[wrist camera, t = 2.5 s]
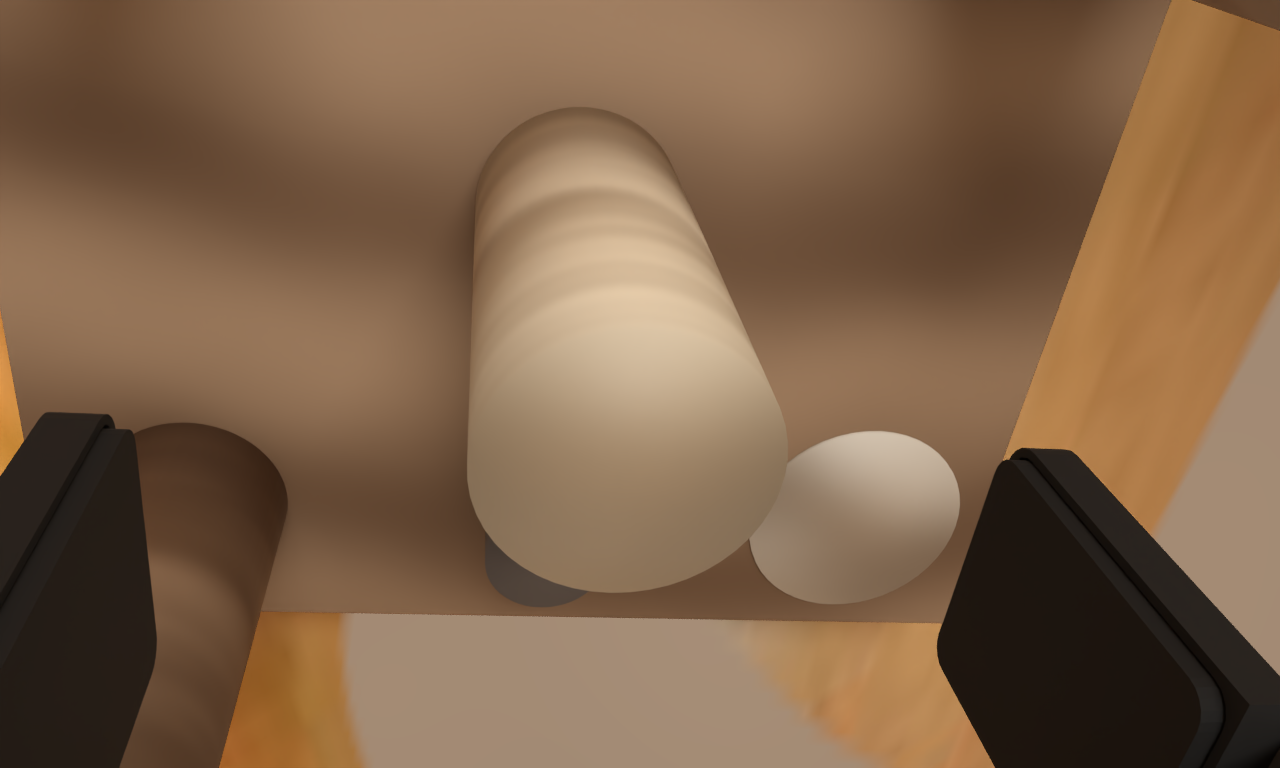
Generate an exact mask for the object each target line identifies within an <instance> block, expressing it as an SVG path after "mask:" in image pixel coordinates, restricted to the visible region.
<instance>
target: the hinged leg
mask: <svg viewBox="0 0 1280 768" xmlns="http://www.w3.org/2000/svg"><path fill="white" fill-rule="evenodd" d="M787 461H788V439H787V432H786V425H785V422H784V419H783V416H782V412H781V409H780V407H779V404H778V402H777V400H776V398H775V395H774V393H773V391H772V389H771V386H770V384H769V382H768V380H767V377H766V375H765V373H764V371H763V368H762V366H761V364H760V362H759V359H758V357H757V355H756V353H755V350H754V348H753V346H752V344H751V342H750V339H749V337H748V335H747V333H746V330H745V328H744V326H743V324H742V321H741V319H740V317H739V315H738V312H737V310H736V308H735V306H734V303H733V301H732V299H731V297H730V294H729V292H728V290H727V288H726V285H725V283H724V281H723V279H722V276H721V274H720V272H719V270H718V267H717V265H716V263H715V261H714V258H713V256H712V254H711V252H710V249H709V247H708V245H707V243H706V240H705V238H704V236H703V234H702V231H701V229H700V227H699V225H698V222H697V220H696V218H695V216H694V213H693V211H692V209H691V207H690V204H689V202H688V200H687V198H686V195H685V193H684V191H683V189H682V186H681V184H680V182H679V180H678V177H677V175H676V173H675V171H674V168H673V166H672V164H671V162H670V160H669V158H668V156H667V155H666V153H665V152H664V150H663V149H662V147H661V146H660V144H659V143H658V142H657V141H656V140H655V139H654V138H653V137H652V136H651V135H650V134H649V133H648V132H647V131H646V130H644V129H643V128H642V127H641V126H639V125H638V124H636V123H634V122H633V121H631V120H630V119H628V118H625V117H623V116H621V115H619V114H616V113H613V112H610V111H607V110H603V109H597V108H591V107H569V108H561V109H556V110H552V111H548V112H545V113H543V114H540V115H537V116H535V117H533V118H531V119H529V120H527V121H525V122H523V123H522V124H520V125H519V126H518V127H516V128H515V129H513V130H512V131H511V132H510V133H509V134H508V135H507V136H506V137H504V138H503V139H502V140H501V142H500V143H499V144H498V145H497V146H496V148H495V149H494V150H493V152H492V153H491V155H490V156H489V158H488V160H487V161H486V163H485V166H484V168H483V170H482V173H481V175H480V179H479V183H478V186H477V193H476V203H475V234H474V265H473V296H472V326H471V357H470V388H469V419H468V450H467V482H468V487H469V493H470V498H471V501H472V504H473V507H474V509H475V512H476V515H477V517H478V519H479V520H480V522H481V524H482V526H483V528H484V530H485V569H486V573H487V576H488V579H489V581H490V582H491V584H492V585H493V587H494V588H495V589H496V590H497V591H498V592H499V593H500V594H502V595H503V596H504V597H506V598H507V599H509V600H511V601H513V602H516V603H518V604H522V605H525V606H531V607H553V606H559V605H563V604H566V603H569V602H572V601H574V600H576V599H578V598H580V597H581V596H583V595H584V594H586V593H587V592H588V591H592V592H606V593H624V592H636V591H644V590H651V589H655V588H659V587H664V586H668V585H671V584H674V583H677V582H680V581H683V580H686V579H688V578H691V577H693V576H695V575H697V574H699V573H702V572H704V571H706V570H707V569H709V568H711V567H713V566H714V565H716V564H718V563H719V562H721V561H722V560H724V559H725V558H727V557H728V556H729V555H731V554H732V553H733V552H735V551H736V550H737V549H738V548H739V547H740V546H741V545H743V544H744V543H745V542H746V541H747V540H748V539H749V538H750V537H751V536H752V535H753V534H754V532H755V531H756V530H757V529H758V528H759V527H760V525H761V524H762V523H763V521H764V520H765V518H766V517H767V515H768V514H769V512H770V511H771V509H772V507H773V505H774V503H775V501H776V499H777V497H778V495H779V493H780V490H781V487H782V484H783V481H784V477H785V473H786V467H787Z"/></svg>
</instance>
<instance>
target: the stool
mask: <svg viewBox="0 0 1280 768" xmlns="http://www.w3.org/2000/svg"><path fill="white" fill-rule="evenodd" d="M1193 1H1196V2H1199V3H1202V4H1205V5H1208V6H1211V7H1213V8H1216V9H1219V10H1222V11H1225V12H1228V13H1231V14H1234V15H1236V16H1239V17H1242V18H1245V19H1248V20H1251V21H1254V22H1256V23H1259V24H1262V25H1265V26H1268V27H1271V28H1274V29H1277V30H1279V31H1280V0H1193ZM1170 2H1171V0H0V310H1V316H2V321H3V327H4V332H5V338H6V343H7V349H8V354H9V360H10V365H11V371H12V376H13V382H14V387H15V393H16V398H17V404H18V409H19V415H20V420H21V426H22V431H23V437H24V441H25V439H26V438H27V436H28V435H29V433H30V432H31V430H32V429H33V427H34V426H35V424H36V423H37V421H38V420H39V418H40V417H41V416H42V415H43V414H44V413H46V412H66V413H93V414H109V415H110V416H111V417H112V419H113V421H114V423H115V428H116V429H130V430H131V431H132V432H133V434H134V436H135V442H136V449H137V458H138V467H139V477H140V486H141V495H142V504H143V513H144V522H145V531H146V540H147V550H148V559H149V568H150V577H151V586H152V595H153V604H154V613H155V623H156V632H157V651H156V659H155V664H154V669H153V672H152V676H151V679H150V681H149V684H148V687H147V690H146V693H145V696H144V698H143V701H142V704H141V707H140V710H139V713H138V716H137V718H136V721H135V724H134V727H133V730H132V733H131V736H130V738H129V741H128V744H127V747H126V750H125V753H124V755H123V758H122V761H121V764H120V767H119V768H219V765H220V761H221V758H222V754H223V750H224V746H225V743H226V739H227V735H228V731H229V728H230V724H231V720H232V717H233V713H234V709H235V705H236V702H237V698H238V694H239V690H240V687H241V683H242V679H243V675H244V672H245V668H246V664H247V661H248V657H249V653H250V649H251V646H252V642H253V638H254V634H255V631H256V627H257V623H258V619H259V616H260V612H261V611H268V612H325V613H384V614H440V615H445V614H446V615H496V616H556V617H558V616H559V617H612V618H668V619H669V618H670V619H725V620H782V621H839V622H896V623H943V621H944V618H945V615H946V612H947V609H948V606H949V603H950V600H951V598H952V595H953V592H954V589H955V586H956V583H957V580H958V577H959V574H960V572H961V569H962V566H963V563H964V560H965V557H966V554H967V551H968V548H969V546H970V543H971V540H972V537H973V534H974V531H975V528H976V525H977V522H978V520H979V517H980V514H981V511H982V508H983V505H984V502H985V499H986V497H987V494H988V491H989V488H990V485H991V482H992V479H993V476H994V473H995V471H996V469H997V467H998V465H999V464H1000V463H1001V462H1002V460H1003V458H1004V455H1005V452H1006V449H1007V447H1008V444H1009V441H1010V438H1011V436H1012V433H1013V430H1014V428H1015V425H1016V422H1017V419H1018V417H1019V414H1020V411H1021V409H1022V406H1023V403H1024V400H1025V398H1026V395H1027V392H1028V389H1029V387H1030V384H1031V381H1032V379H1033V376H1034V373H1035V370H1036V368H1037V365H1038V362H1039V359H1040V357H1041V354H1042V351H1043V349H1044V346H1045V343H1046V340H1047V338H1048V335H1049V332H1050V329H1051V327H1052V324H1053V321H1054V319H1055V316H1056V313H1057V310H1058V308H1059V305H1060V302H1061V299H1062V297H1063V294H1064V291H1065V289H1066V286H1067V283H1068V280H1069V278H1070V275H1071V272H1072V269H1073V267H1074V264H1075V261H1076V259H1077V256H1078V253H1079V250H1080V248H1081V245H1082V242H1083V239H1084V237H1085V234H1086V231H1087V229H1088V226H1089V223H1090V220H1091V218H1092V215H1093V212H1094V210H1095V207H1096V204H1097V201H1098V199H1099V196H1100V193H1101V190H1102V188H1103V185H1104V182H1105V180H1106V177H1107V174H1108V171H1109V169H1110V166H1111V163H1112V160H1113V158H1114V155H1115V152H1116V150H1117V147H1118V144H1119V141H1120V139H1121V136H1122V133H1123V130H1124V128H1125V125H1126V122H1127V120H1128V117H1129V114H1130V111H1131V109H1132V106H1133V103H1134V100H1135V98H1136V95H1137V92H1138V90H1139V87H1140V84H1141V81H1142V79H1143V76H1144V73H1145V70H1146V68H1147V65H1148V62H1149V60H1150V57H1151V54H1152V51H1153V49H1154V46H1155V43H1156V40H1157V38H1158V35H1159V32H1160V30H1161V27H1162V24H1163V21H1164V19H1165V16H1166V13H1167V11H1168V8H1169V5H1170ZM569 107H591V108H597V109H603V110H607V111H610V112H613V113H616V114H619V115H621V116H623V117H625V118H628V119H630V120H631V121H633V122H634V123H636V124H638V125H639V126H641V127H642V128H643V129H644V130H646V131H647V132H648V133H649V134H650V135H651V136H652V137H653V138H654V139H655V140H656V141H657V142H658V143H659V144H660V146H661V147H662V149H663V150H664V152H665V153H666V155H667V156H668V158H669V160H670V162H671V164H672V166H673V168H674V171H675V173H676V175H677V177H678V180H679V182H680V184H681V186H682V189H683V191H684V193H685V195H686V198H687V200H688V202H689V204H690V207H691V209H692V211H693V213H694V216H695V218H696V220H697V222H698V225H699V227H700V229H701V231H702V234H703V236H704V238H705V240H706V243H707V245H708V247H709V249H710V252H711V254H712V256H713V258H714V261H715V263H716V265H717V267H718V270H719V272H720V274H721V276H722V279H723V281H724V283H725V285H726V288H727V290H728V292H729V294H730V297H731V299H732V301H733V303H734V306H735V308H736V310H737V312H738V315H739V317H740V319H741V321H742V324H743V326H744V328H745V330H746V333H747V335H748V337H749V339H750V342H751V344H752V346H753V348H754V350H755V353H756V355H757V357H758V359H759V362H760V364H761V366H762V368H763V371H764V373H765V375H766V377H767V380H768V382H769V384H770V386H771V389H772V391H773V393H774V395H775V398H776V400H777V402H778V404H779V407H780V409H781V412H782V416H783V419H784V422H785V425H786V432H787V439H788V461H787V467H786V473H785V477H784V481H783V484H782V487H781V490H780V493H779V495H778V497H777V499H776V501H775V503H774V505H773V507H772V509H771V511H770V512H769V514H768V515H767V517H766V518H765V520H764V521H763V523H762V524H761V525H760V527H759V528H758V529H757V530H756V531H755V532H754V534H753V535H752V536H751V537H750V538H749V539H748V540H747V541H746V542H745V543H744V544H743V545H741V546H740V547H739V548H738V549H737V550H736V551H735V552H733V553H732V554H731V555H729V556H728V557H727V558H725V559H724V560H722V561H721V562H719V563H718V564H716V565H714V566H713V567H711V568H709V569H707V570H706V571H704V572H702V573H699V574H697V575H695V576H693V577H691V578H688V579H686V580H683V581H680V582H677V583H674V584H671V585H668V586H664V587H659V588H655V589H651V590H644V591H636V592H624V593H606V592H592V591H588V592H587V593H586V594H584V595H583V596H581V597H580V598H578V599H576V600H574V601H572V602H569V603H566V604H563V605H559V606H553V607H531V606H525V605H522V604H518V603H516V602H513V601H511V600H509V599H507V598H506V597H504V596H503V595H502V594H500V593H499V592H498V591H497V590H496V589H495V588H494V587H493V585H492V584H491V582H490V581H489V579H488V576H487V573H486V569H485V530H484V528H483V526H482V524H481V522H480V520H479V519H478V517H477V515H476V512H475V509H474V507H473V504H472V501H471V498H470V493H469V487H468V482H467V450H468V419H469V388H470V357H471V326H472V296H473V265H474V234H475V203H476V193H477V186H478V183H479V179H480V175H481V173H482V170H483V168H484V166H485V163H486V161H487V160H488V158H489V156H490V155H491V153H492V152H493V150H494V149H495V148H496V146H497V145H498V144H499V143H500V142H501V140H502V139H503V138H504V137H506V136H507V135H508V134H509V133H510V132H511V131H512V130H513V129H515V128H516V127H518V126H519V125H520V124H522V123H523V122H525V121H527V120H529V119H531V118H533V117H535V116H537V115H540V114H543V113H545V112H548V111H552V110H556V109H561V108H569Z"/></svg>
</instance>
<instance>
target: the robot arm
mask: <svg viewBox="0 0 1280 768" xmlns="http://www.w3.org/2000/svg"><path fill="white" fill-rule="evenodd" d="M156 651H157V632H156V623H155V613H154V604H153V595H152V586H151V577H150V568H149V559H148V550H147V540H146V531H145V522H144V513H143V504H142V495H141V486H140V477H139V467H138V458H137V449H136V442H135V436H134V434H133V432H132V431H131V430H130V429H116V428H115V423H114V421H113V419H112V417H111V416H110V415H109V414H93V413H66V412H46V413H44V414H43V415H42V416H41V417H40V418H39V420H38V421H37V423H36V424H35V426H34V427H33V429H32V430H31V432H30V433H29V435H28V436H27V438H26V439H25V441H24V442H23V444H22V445H21V446H20V448H19V449H18V451H17V452H16V454H15V455H14V457H13V458H12V460H11V461H10V463H9V464H8V466H7V467H6V469H5V470H4V472H3V473H2V475H1V476H0V768H119V767H120V764H121V761H122V758H123V755H124V753H125V750H126V747H127V744H128V741H129V738H130V736H131V733H132V730H133V727H134V724H135V721H136V718H137V716H138V713H139V710H140V707H141V704H142V701H143V698H144V696H145V693H146V690H147V687H148V684H149V681H150V679H151V676H152V672H153V669H154V664H155V659H156ZM937 653H938V659H939V663H940V666H941V668H942V670H943V672H944V674H945V676H946V678H947V680H948V682H949V683H950V685H951V687H952V689H953V691H954V693H955V694H956V696H957V698H958V700H959V702H960V704H961V705H962V707H963V709H964V711H965V713H966V715H967V717H968V718H969V720H970V722H971V724H972V726H973V728H974V729H975V731H976V733H977V735H978V737H979V739H980V741H981V742H982V744H983V746H984V748H985V750H986V752H987V753H988V755H989V757H990V759H991V761H992V763H993V764H994V766H995V768H1280V676H1279V675H1278V674H1277V673H1276V672H1275V671H1274V670H1273V668H1272V667H1271V666H1270V665H1269V664H1268V663H1267V662H1266V661H1265V660H1264V659H1263V658H1262V656H1261V655H1260V654H1259V653H1258V652H1257V651H1256V650H1255V649H1254V648H1253V647H1252V646H1251V645H1250V643H1249V642H1248V641H1247V640H1246V639H1245V638H1244V637H1243V636H1242V635H1241V634H1240V633H1239V631H1238V630H1236V628H1235V627H1234V626H1233V625H1232V624H1231V623H1230V622H1229V621H1228V619H1226V617H1225V616H1224V615H1223V614H1222V613H1221V612H1220V611H1219V610H1218V609H1217V607H1216V606H1215V605H1214V604H1213V603H1212V602H1211V601H1210V600H1209V599H1208V598H1207V597H1206V596H1205V594H1204V593H1203V592H1202V591H1201V590H1200V589H1199V588H1198V587H1197V586H1196V585H1195V584H1194V582H1193V581H1192V580H1191V579H1190V578H1189V577H1188V576H1187V575H1186V574H1185V573H1184V572H1183V570H1182V569H1181V568H1180V567H1179V566H1178V565H1177V564H1176V563H1175V562H1174V561H1173V560H1172V559H1171V558H1170V556H1169V555H1168V554H1167V553H1166V552H1165V551H1164V550H1163V549H1162V548H1161V547H1160V545H1159V544H1158V543H1157V542H1156V541H1155V540H1154V539H1153V538H1152V537H1151V536H1150V534H1149V533H1148V532H1147V531H1146V530H1145V529H1144V528H1143V527H1142V526H1141V525H1140V524H1139V523H1138V521H1137V520H1136V519H1135V518H1134V517H1133V516H1132V515H1131V514H1130V513H1129V512H1128V511H1127V509H1126V508H1125V507H1124V506H1123V505H1122V504H1121V503H1120V502H1119V501H1118V500H1117V499H1116V497H1115V496H1114V495H1113V494H1112V493H1111V492H1110V491H1109V490H1108V489H1107V488H1106V487H1105V485H1104V484H1103V483H1102V482H1101V481H1100V480H1099V479H1098V478H1097V477H1096V476H1095V475H1094V473H1093V472H1092V471H1091V470H1090V469H1089V468H1088V467H1087V466H1086V465H1085V464H1084V463H1083V462H1082V460H1081V459H1080V458H1079V457H1078V456H1077V455H1076V454H1074V453H1073V452H1072V451H1070V450H1062V449H1035V448H1021V449H1019V450H1016V452H1015V453H1014V454H1013V455H1012V456H1011V458H1010V460H1004V461H1002V462H1001V463H1000V464H999V465H998V467H997V469H996V471H995V473H994V476H993V479H992V482H991V485H990V488H989V491H988V494H987V497H986V499H985V502H984V505H983V508H982V511H981V514H980V517H979V520H978V522H977V525H976V528H975V531H974V534H973V537H972V540H971V543H970V546H969V548H968V551H967V554H966V557H965V560H964V563H963V566H962V569H961V572H960V574H959V577H958V580H957V583H956V586H955V589H954V592H953V595H952V598H951V600H950V603H949V606H948V609H947V612H946V615H945V618H944V621H943V624H942V626H941V629H940V632H939V636H938V640H937Z"/></svg>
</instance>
